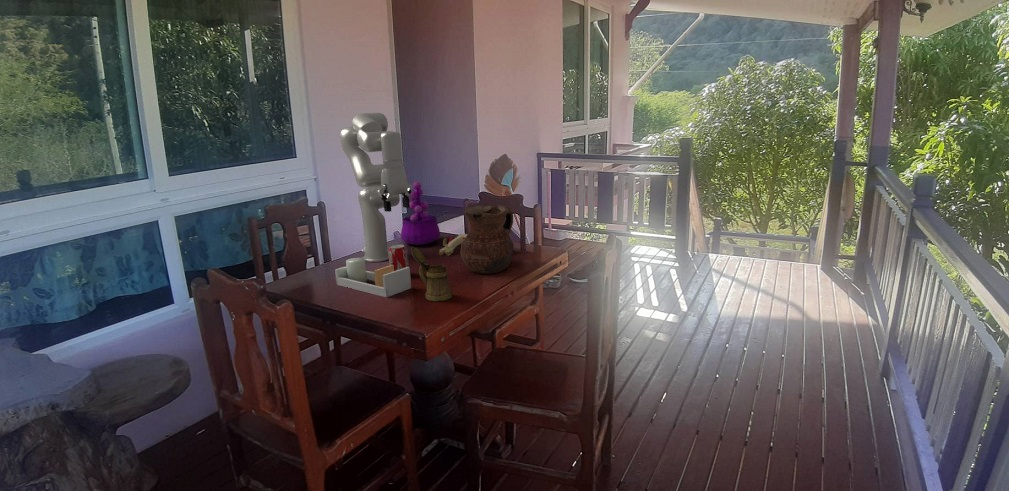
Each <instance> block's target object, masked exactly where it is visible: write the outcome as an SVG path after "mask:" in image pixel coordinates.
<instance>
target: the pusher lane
mask: <svg viewBox="0 0 1009 491" xmlns="http://www.w3.org/2000/svg"><path fill="white" fill-rule="evenodd" d="M334 272H335V273H334V274H335V282H336V286H340V287H344V288H347V287H348V288H349V289H351V288H352V290H355V291H361V292H364V293H369V294H371V295H374V296H380V297H384V298H388V297H391V296H394V295H396V294H399V293H402V292H405V291H407V290H410V289H412V282H411V268H410V267H409V266H408V267H406V268H403V269H400V270H397V271H394V272H391V273H388V274H385V275H383V286H384V287H380V286H375V285H374V284H371V283H368V282H367V283H363V282H359V281H355V280H350V279H348V276H347V267H346V266H341V267H339V268H335V269H334ZM366 276H367V280H369V281H374V282H375V275H374V271H371V270H370V271H369V270H366Z"/></svg>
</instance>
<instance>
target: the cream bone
mask: <svg viewBox="0 0 1009 491" xmlns="http://www.w3.org/2000/svg"><path fill="white" fill-rule="evenodd" d="M468 234H469V233H460V234H458V236H456V237H455V235H453V236H451V237H450V238H448V239H449V240H448V239H447V238H446V237H444V238H443V240H442V246H444V247H442V248H441V249H439V252H438V255H439V256H443V255H445V256H448V257H450V256H452V254H453V253H454V249H455V248H456V247H458V246H460V245H462V243H463V241H464V239H465V238H466V236H467V235H468ZM453 238H454V239H453ZM447 241H448V244H447Z"/></svg>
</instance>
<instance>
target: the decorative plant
mask: <svg viewBox="0 0 1009 491" xmlns="http://www.w3.org/2000/svg"><path fill="white" fill-rule="evenodd" d="M421 188H422V184H421V182H419V181H414V182H413V184H412V189H414V190H411V191H412V192H411V194H410V197H409V205H410V207H409V208H410V210H413V211H414V212H415V213H414V214H412V215H410V216H406V217H404V218H402V227H401V231H400V239H401V240H402V241H403V242H404V243H407V244H410V245H415V246H416V245H417V246H419V245H420V246H421V245H428V244H431V243H434V242H436V241H438V240H439V238H440V237H441V230H440V227H439V224H438V220H437V217H436V216H435V215H432V214H431V215H430V214H429V212H428V211H427V209H428V208H429V203H428V202H427V201H426V200H425V201H421V196H422V195H423V194H424V190H422V189H421Z"/></svg>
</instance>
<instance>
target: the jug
mask: <svg viewBox="0 0 1009 491" xmlns="http://www.w3.org/2000/svg"><path fill="white" fill-rule="evenodd" d="M463 213H464V214H465V216H466V218H467V220H468V222H469V229H470V230H469V232H468V233H467V234H468V235H467V236H466V238H465V239H464V241H463V243H462V244H460V245H461V246H460V257H461V260H462V262H463V264H465V267H466V268H468V269H469V270H470V271H472V272H474V273H476V274H483V275H488V274H489V275H490V274H491V275H492V274H496V273H500V272H503V271H504V270H505V269H507V268H508V267H509V265H510V263H511V261H512V260H513V255H514V250H515V247H514V246H515V245H514V241H513V240H512V239H511V236H510V233H511V229H512V227H513V224H514V214H513V210H512V209H511V208H510V207H508V206H507V205H506V206H505V205H502V204H498V205H489V204H487V205H470V206H468V207H465V208H464V210H463Z"/></svg>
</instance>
